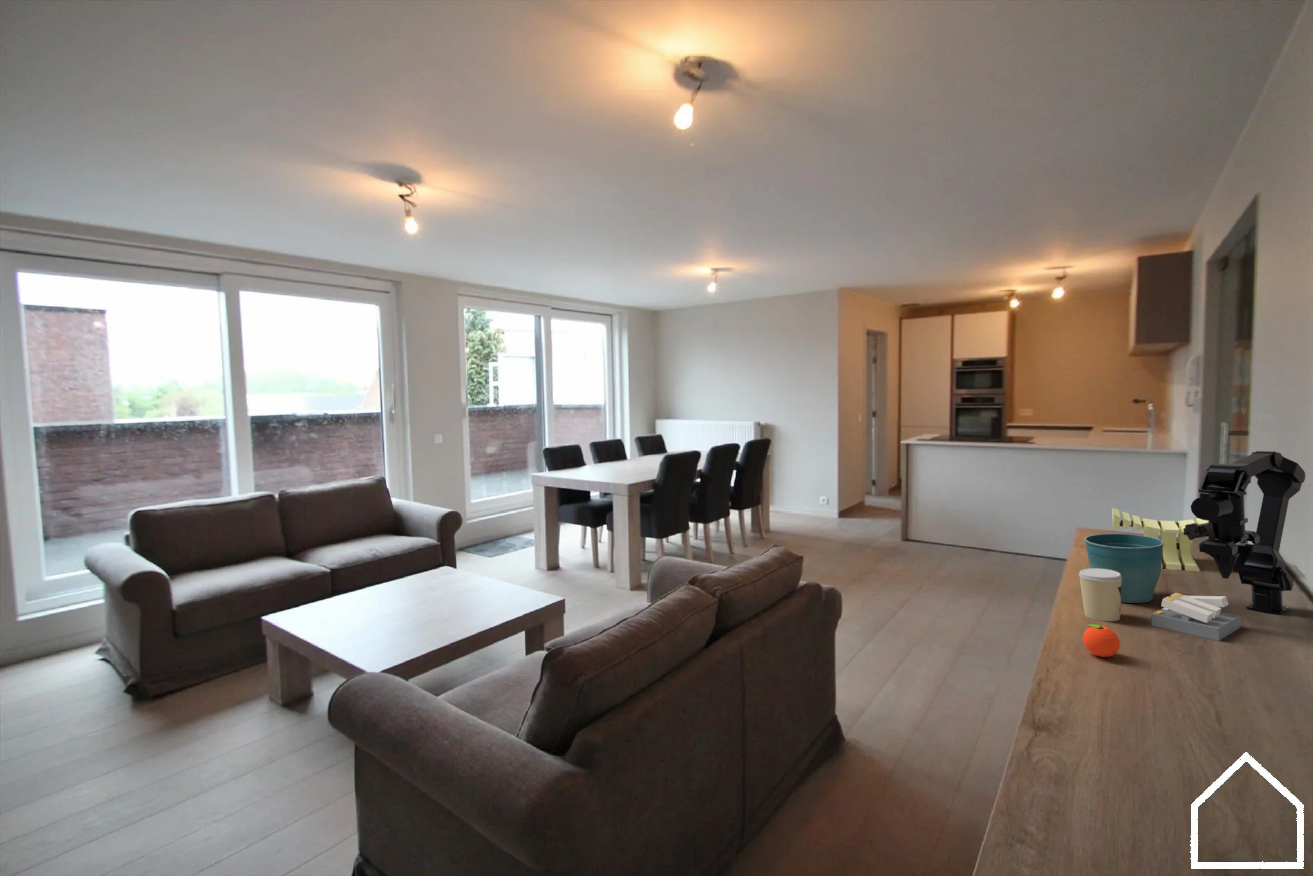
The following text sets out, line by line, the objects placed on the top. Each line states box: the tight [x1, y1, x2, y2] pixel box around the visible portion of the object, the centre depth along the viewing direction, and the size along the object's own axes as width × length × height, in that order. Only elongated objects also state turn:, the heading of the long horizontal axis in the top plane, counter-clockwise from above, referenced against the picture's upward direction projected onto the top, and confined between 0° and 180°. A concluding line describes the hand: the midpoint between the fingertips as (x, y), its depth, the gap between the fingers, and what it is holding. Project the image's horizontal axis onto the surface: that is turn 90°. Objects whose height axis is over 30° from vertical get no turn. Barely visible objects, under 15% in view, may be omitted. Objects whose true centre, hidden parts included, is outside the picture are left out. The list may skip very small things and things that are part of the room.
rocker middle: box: [1169, 592, 1222, 618], centre depth 148 cm, size 3×9×2 cm, turn 29°
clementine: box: [1080, 623, 1121, 658], centre depth 137 cm, size 8×7×7 cm
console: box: [1150, 607, 1241, 642], centre depth 148 cm, size 13×13×4 cm
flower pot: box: [1083, 533, 1164, 604], centre depth 171 cm, size 18×18×17 cm
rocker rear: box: [1183, 594, 1229, 608], centre depth 150 cm, size 3×9×2 cm, turn 29°
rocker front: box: [1160, 596, 1213, 623], centre depth 146 cm, size 3×9×2 cm, turn 29°
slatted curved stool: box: [1111, 507, 1209, 572], centre depth 199 cm, size 30×16×18 cm, turn 54°
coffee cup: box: [1078, 567, 1122, 622], centre depth 159 cm, size 9×9×12 cm
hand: (1231, 575), depth 149 cm, fingers open, 7 cm apart
